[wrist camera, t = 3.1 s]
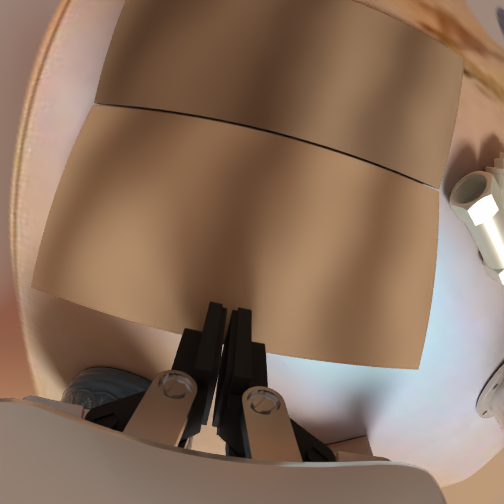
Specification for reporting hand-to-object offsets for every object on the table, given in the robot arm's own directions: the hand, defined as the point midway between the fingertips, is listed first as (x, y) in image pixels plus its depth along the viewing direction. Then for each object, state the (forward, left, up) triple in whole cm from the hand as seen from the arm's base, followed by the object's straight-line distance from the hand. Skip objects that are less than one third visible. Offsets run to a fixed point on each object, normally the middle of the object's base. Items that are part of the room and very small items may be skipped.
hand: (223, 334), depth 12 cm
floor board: (0, -13, -7) cm, 14 cm away
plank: (0, -3, -4) cm, 5 cm away
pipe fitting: (-17, -9, -7) cm, 21 cm away
